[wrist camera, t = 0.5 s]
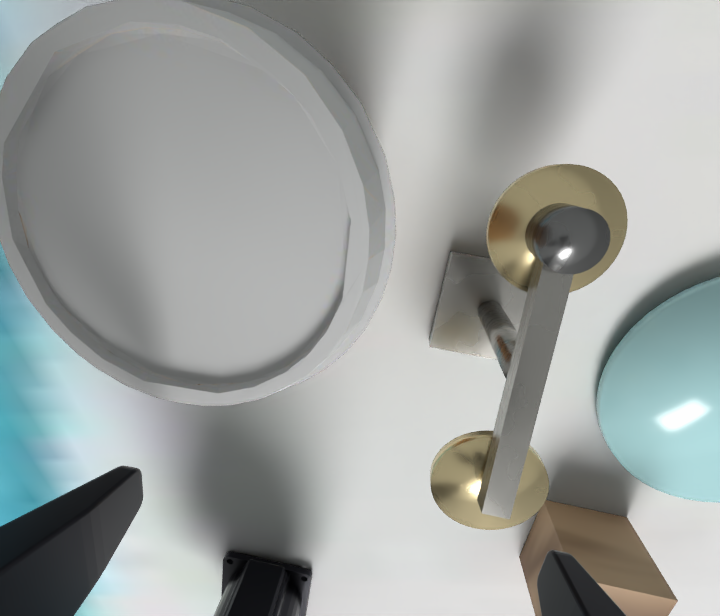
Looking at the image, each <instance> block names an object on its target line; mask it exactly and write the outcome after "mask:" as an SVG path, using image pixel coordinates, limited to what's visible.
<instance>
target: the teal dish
mask: <svg viewBox="0 0 720 616" xmlns="http://www.w3.org/2000/svg"><path fill="white" fill-rule="evenodd" d="M596 411H597V417H598V424H599V427H600V430H601V433H602V436H603V438H604V439H605V441H606V443H607V445H608V447H609V448H610V450H611V451H612V453H613V454H614V456H615V457H616V458H617V459H618V461H619V462H620V463H621V465H622V466H623V467H624V468H625V469H626V470H627V471H629V472H630V473H631V474H632V475H633V476H635V477H636V478H637V479H639V480H640V481H642V482H643V483H645V484H647V485H649V486H650V487H652V488H654V489H656V490H659V491H661V492H664V493H667V494H669V495H672V496H676V497H680V498H684V499H689V500H696V501H702V502H720V277H717V278H714V279H711V280H708V281H705V282H702V283H699V284H697V285H695V286H693V287H690V288H688V289H686V290H684V291H682V292H680V293H678V294H676V295H675V296H673V297H671V298H669V299H668V300H666V301H664V302H663V303H661V304H660V305H659V306H657V307H656V308H654V309H653V310H652V311H650V312H649V313H647V314H646V315H645V316H644V317H643V318H642V319H641V320H640V321H639V322H637V323H636V324H635V325H634V326H633V327H632V328H631V329H630V331H629V332H628V333H627V334H626V335H625V336H624V337H623V338H622V340H621V341H620V342H619V344H618V345H617V347H616V348H615V350H614V351H613V353H612V354H611V356H610V358H609V360H608V362H607V364H606V366H605V368H604V370H603V373H602V376H601V379H600V382H599V387H598V392H597V408H596Z"/></svg>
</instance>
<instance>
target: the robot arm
mask: <svg viewBox="0 0 720 616" xmlns="http://www.w3.org/2000/svg"><path fill="white" fill-rule="evenodd" d="M142 501H143V487H142V474H141V471H140V469H138V468H134V467H129V466H120V467H117V468H115V469H113V470H111V471H109V472H107V473H105V474H103V475H101V476H99V477H97V478H95V479H93V480H91V481H90V482H88V483H86V484H84V485H82V486H80V487H78V488H76V489H74V490H72V491H70V492H68V493H66V494H64V495H62V496H60V497H58V498H56V499H54V500H52V501H50V502H48V503H46V504H44V505H42V506H40V507H38V508H36V509H34V510H32V511H30V512H28V513H26V514H24V515H22V516H20V517H19V518H17V519H15V520H13V521H11V522H9V523H7V524H5V525H3V526H1V527H0V616H74V615H75V613H76V612H77V610H78V609H79V607H80V606H81V604H82V603H83V602H84V600H85V599H86V597H87V596H88V594H89V593H90V591H91V590H92V588H93V587H94V585H95V584H96V582H97V581H98V579H99V578H100V576H101V575H102V573H103V571H104V570H105V568H106V566H107V564H108V563H109V561H110V559H111V557H112V556H113V554H114V552H115V550H116V549H117V547H118V545H119V543H120V542H121V540H122V538H123V536H124V535H125V533H126V531H127V530H128V528H129V526H130V524H131V523H132V521H133V519H134V517H135V516H136V514H137V512H138V510H139V508H140V506H141V504H142ZM311 580H312V572H311V571H310V570H308V569H305V568H301V567H297V566H292V565H288V564H284V563H279V562H275V561H271V560H266V559H262V558H258V557H253V556H249V555H245V554H240V553H236V552H227V553H226V555H225V557H224V560H223V579H222V598H221V600H220V602H219V605H218V607H217V609H216V612H215V614H214V616H306V611H307V605H308V598H309V592H310V586H311ZM537 590H538V596H539V602H540V608H541V615H542V616H626V615H625V613H624V612H623V611H622V610H621V609H620V608H619V607H618V606H617V604H616V603H615V602H614V601H613V600H612V599H611V598H610V597H609V596H608V594H607V593H606V592H605V591H604V590H603V589H602V588H601V587H600V586H599V584H598V583H597V582H596V581H595V580H594V579H593V578H592V577H591V575H590V574H589V573H588V572H587V571H586V570H585V569H584V568H583V567H582V565H581V564H580V563H579V562H578V561H577V560H576V559H575V558H574V557H573V556H572V555H571V554H569V553H567V552H562V551H557V550H550V551H548V552H547V554H546V557H545V559H544V562H543V564H542V567H541V569H540V572H539V574H538V578H537Z"/></svg>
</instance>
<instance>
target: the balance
mask: <svg viewBox="0 0 720 616" xmlns="http://www.w3.org/2000/svg"><path fill="white" fill-rule="evenodd" d="M626 231H627V210H626V206H625V202H624V200H623V198H622V195H621V193H620V192H619V190H618V189H617V187H616V186H615V185H614V184H613V183H612V181H611V180H610V179H608V178H607V177H606V176H605V175H603V174H601V173H600V172H598V171H596V170H594V169H591V168H589V167H585V166H581V165H573V164H556V165H549V166H544V167H541V168H538V169H535V170H533V171H530V172H528V173H526V174H525V175H523V176H521V177H520V178H518V179H517V180H516V181H514V182H513V183H512V184H511V185H510V186H509V187H508V188H507V189H506V190H505V191H504V192H503V193H502V194H501V196H500V197H499V198H498V200H497V202H496V203H495V205H494V207H493V209H492V211H491V214H490V217H489V220H488V224H487V230H486V243H487V249H488V253H489V256H490V258H486V257H481V256H475V255H469V254H464V253H458V252H452V251H450V255H449V260H448V264H447V268H446V272H445V276H444V280H443V285H442V289H441V293H440V297H439V301H438V305H437V310H436V314H435V318H434V322H433V326H432V331H431V335H430V339H429V345H430V347H432V348H438V349H443V350H448V351H453V352H458V353H464V354H469V355H474V356H479V357H484V358H490V359H495V360H498V362H499V364H500V366H501V369H502V371H503V373H504V376H505V378H506V382H505V387H504V391H503V395H502V399H501V403H500V407H499V411H498V415H497V419H496V423H495V428H494V431H477V432H471V433H467V434H464V435H461V436H459V437H457V438H455V439H453V440H451V441H450V442H448V443H447V444H446V445H445V446H444V447H443V448H442V449H440V451H439V452H438V453H437V455H436V456H435V458H434V460H433V463H432V465H431V471H430V481H431V491H432V495H433V498H434V500H435V502H436V503H437V505H438V506H439V508H440V509H441V510H442V511H443V512H444V513H445V514H446V515H447V516H449V517H450V518H451V519H453V520H454V521H456V522H458V523H460V524H463V525H466V526H469V527H472V528H477V529H485V530H497V529H504V528H509V527H512V526H515V525H518V524H520V523H522V522H524V521H526V520H528V519H529V518H531V517H532V516H533V515H535V514H536V513H537V512H538V511H539V510H540V508H541V507H542V505H543V504H544V502H545V500H546V498H547V495H548V491H549V479H548V474H547V472H546V469H545V467H544V465H543V462H542V460H541V458H540V457H539V455H538V453H537V452H536V451H535V450H534V449H533V448H532V447H531V446H530V445H529V444H530V441H531V437H532V433H533V429H534V425H535V421H536V417H537V414H538V410H539V406H540V402H541V398H542V394H543V391H544V387H545V383H546V379H547V375H548V371H549V367H550V364H551V360H552V356H553V352H554V348H555V344H556V341H557V337H558V333H559V329H560V325H561V321H562V318H563V314H564V310H565V306H566V302H567V298H568V294H569V292H572V291H575V290H578V289H580V288H582V287H584V286H586V285H588V284H590V283H591V282H593V281H594V280H596V279H597V278H598V277H599V276H601V275H602V274H603V273H604V272H605V271H606V270H607V269H608V268H609V267H610V265H611V264H612V263H613V262H614V260H615V258H616V257H617V255H618V254H619V252H620V250H621V247H622V245H623V242H624V239H625V236H626Z"/></svg>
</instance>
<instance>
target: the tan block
mask: <svg viewBox="0 0 720 616" xmlns="http://www.w3.org/2000/svg"><path fill="white" fill-rule="evenodd" d="M550 550H557V551H562V552H567V553H569V554H571V555H572V556H573V557H574V558H575V559H576V560H577V561H578V562H579V563H580V564H581V565H582V567H583V568H584V569H585V570H586V571H587V572H588V573H589V574H590V575H591V577H592V578H593V579H594V580H595V581H596V582H597V583H598V584H599V586H600V587H601V588H602V589H603V590H604V591H605V592H606V593H607V594H608V596H609V597H610V598H611V599H612V600H613V601H614V602H615V603H616V604H617V606H618V607H619V608H620V609H621V610H622V611H623V612H624V613H625V615H626V616H668V615H669V613H670V612H671V610H672V609H673V607H674V606H675V604H676V603H677V601H678V600H677V599H676V597H675V595H674V594H673V592H672V590H671V589H670V587H669V585H668V584H667V582H666V581H665V579H664V577H663V576H662V574H661V572H660V571H659V569H658V568H657V566H656V564H655V563H654V561H653V559H652V558H651V556H650V554H649V553H648V551H647V550H646V548H645V546H644V545H643V543H642V541H641V540H640V538H639V536H638V535H637V533H636V532H635V530H634V528H633V527H632V525H631V523H630V522H629V520H628V518H627V517H623V516H618V515H614V514H609V513H604V512H600V511H595V510H590V509H585V508H581V507H576V506H571V505H566V504H562V503H557V502H552V501H548V500H545V502H544V504H543V505H542V507H541V508H540V510H539V511H538V514H537V516H536V518H535V521H534V523H533V525H532V528H531V530H530V533H529V535H528V537H527V540H526V542H525V544H524V547H523V549H522V552H521V554H520V556H519V558H520V561H521V565H522V568H523V572H524V576H525V579H526V583H527V587H528V590H529V594H530V597H531V601H532V605H533V608H534V612H535V616H542V615H541V608H540V602H539V596H538V590H537V578H538V574H539V572H540V569H541V567H542V564H543V562H544V559H545V557H546V554H547V552H548V551H550Z"/></svg>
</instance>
